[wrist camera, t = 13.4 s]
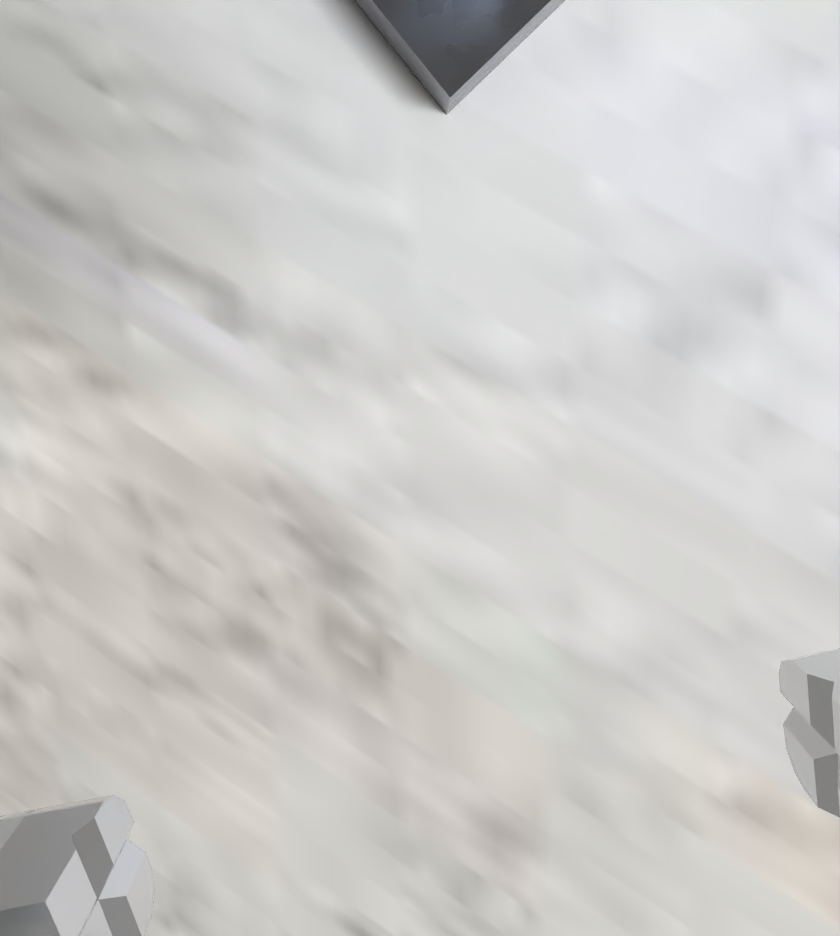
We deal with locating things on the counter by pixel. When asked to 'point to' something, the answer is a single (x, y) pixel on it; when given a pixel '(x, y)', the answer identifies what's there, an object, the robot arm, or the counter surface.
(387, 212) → the counter surface
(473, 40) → the ledge
